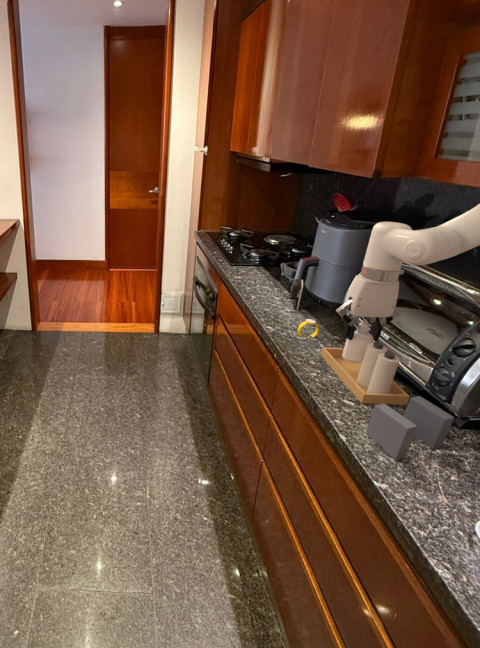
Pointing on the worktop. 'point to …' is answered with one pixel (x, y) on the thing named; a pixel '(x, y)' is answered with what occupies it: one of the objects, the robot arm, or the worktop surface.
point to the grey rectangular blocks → (408, 426)
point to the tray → (350, 376)
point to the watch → (311, 322)
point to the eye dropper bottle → (358, 344)
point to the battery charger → (297, 292)
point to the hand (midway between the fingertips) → (360, 337)
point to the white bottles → (377, 369)
